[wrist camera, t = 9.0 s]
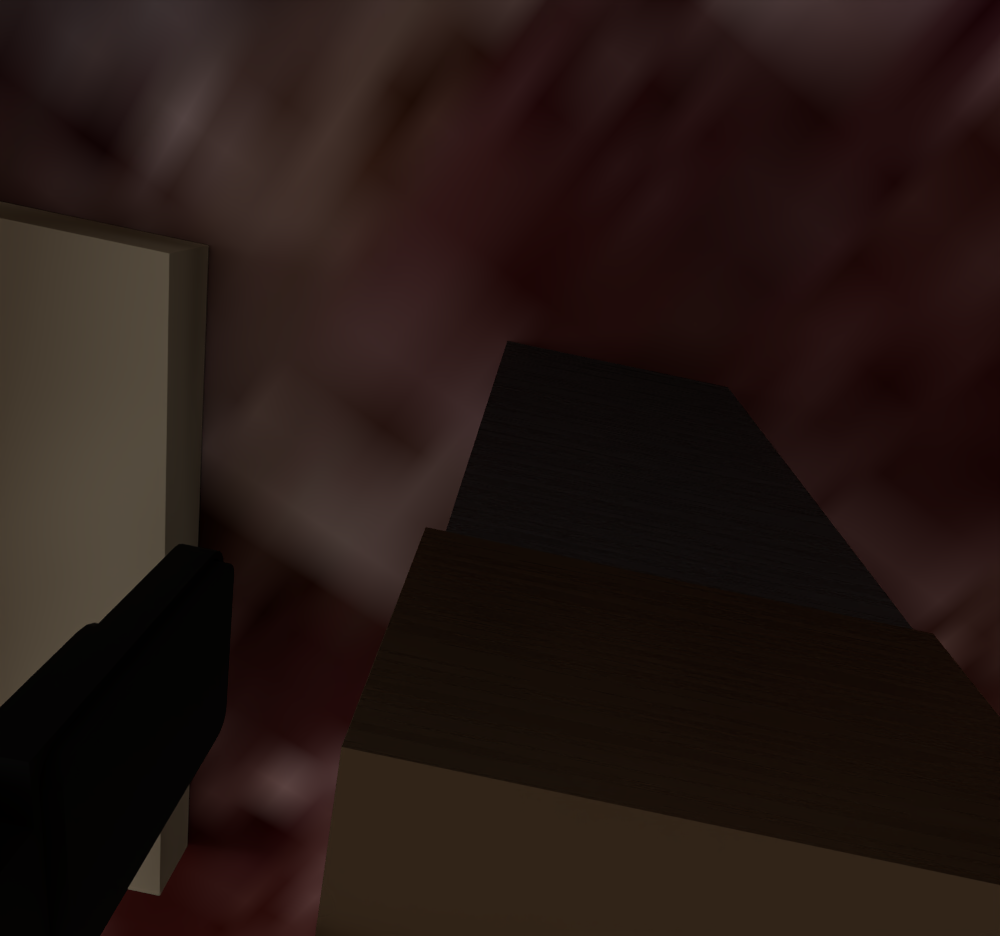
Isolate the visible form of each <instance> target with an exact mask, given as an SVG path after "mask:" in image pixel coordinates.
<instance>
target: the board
mask: <svg viewBox="0 0 1000 936" xmlns="http://www.w3.org/2000/svg"><path fill="white" fill-rule="evenodd" d="M208 249H209V245H205V244H200V243H195V242H190V241H186V240H181V239H176V238H171V237H167V236H162V235H157V234H152V233H148V232H143V231H138V230H133V229H129V228H124V227H119V226H114V225H110V224H105V223H100V222H95V221H91V220H86V219H81V218H76V217H72V216H67V215H62V214H57V213H53V212H48V211H43V210H38V209H34V208H29V207H24V206H19V205H15V204H10V203H5V202H0V707H1V706H2V705H3V704H4V703H5V702H6V701H7V700H8V699H9V698H10V697H11V696H12V695H13V694H14V693H15V692H16V691H17V690H18V689H19V688H20V687H21V686H22V685H23V684H24V683H25V682H26V681H27V680H28V679H29V678H30V677H31V676H32V675H33V674H34V673H35V672H36V671H37V670H39V669H40V668H41V667H42V666H43V665H44V664H45V663H46V662H47V661H48V660H49V659H50V658H51V657H52V656H53V655H54V654H55V653H56V652H57V651H58V650H59V649H60V648H61V647H62V646H63V645H64V644H65V643H66V642H67V641H68V640H69V639H70V638H71V637H72V636H73V635H74V634H75V633H76V632H78V631H79V630H80V629H82V628H83V627H84V626H85V625H87V624H91V623H99V622H100V621H101V620H102V619H103V618H104V617H105V616H106V615H107V614H108V613H109V612H110V611H111V610H112V609H113V608H114V607H115V606H116V605H117V604H118V603H119V602H120V601H121V600H122V599H123V598H124V597H125V596H126V595H127V594H128V593H129V592H130V591H131V590H132V589H133V588H134V587H135V586H136V585H137V584H138V583H139V582H140V581H141V580H142V579H143V578H144V577H145V576H146V575H147V574H148V573H149V572H150V571H151V570H152V569H153V568H154V567H155V566H156V565H157V564H158V563H159V562H160V561H161V560H162V559H163V558H164V557H165V556H166V555H167V554H168V553H169V552H170V551H171V550H172V549H173V548H174V547H175V546H177V545H178V544H186V545H191V546H196V547H198V532H199V504H200V476H201V447H202V419H203V391H204V362H205V334H206V306H207V278H208ZM189 787H190V784H189V786H188V787H187V789H186V791H185V793H184V794H183V796H182V798H181V799H180V801H179V803H178V804H177V806H176V808H175V810H174V811H173V813H172V815H171V816H170V818H169V820H168V821H167V823H166V825H165V826H164V828H163V830H162V832H161V833H160V835H159V837H158V838H157V840H156V842H155V843H154V845H153V847H152V848H151V850H150V852H149V854H148V855H147V857H146V859H145V860H144V862H143V864H142V865H141V867H140V869H139V871H138V872H137V874H136V876H135V877H134V879H133V881H132V882H131V884H130V886H129V887H128V889H130V890H135V891H140V892H144V893H149V894H154V895H159V896H160V894H161V892H162V891H163V889H164V887H165V885H166V883H167V882H168V880H169V878H170V876H171V874H172V873H173V871H174V869H175V867H176V865H177V864H178V862H179V860H180V858H181V856H182V855H183V853H184V851H185V849H186V847H187V843H188V815H189Z"/></svg>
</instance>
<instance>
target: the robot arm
mask: <svg viewBox="0 0 1000 936" xmlns="http://www.w3.org/2000/svg"><path fill="white" fill-rule="evenodd" d="M233 583H234V568H233V565H232V564H229V563H224V562H223V556H222V553H221V552H220V551H216V550H211V549H206V548H201V547H196V546H191V545H186V544H178V545H177V546H175V547H174V548H173V549H172V550H171V551H170V552H169V553H168V554H167V555H166V556H165V557H164V558H163V559H162V560H161V561H160V562H159V563H158V564H157V565H156V566H155V567H154V568H153V569H152V570H151V571H150V572H149V573H148V574H147V575H146V576H145V577H144V578H143V579H142V580H141V581H140V582H139V583H138V584H137V585H136V586H135V587H134V588H133V589H132V590H131V591H130V592H129V593H128V594H127V595H126V596H125V597H124V598H123V599H122V600H121V601H120V602H119V603H118V604H117V605H116V606H115V607H114V608H113V609H112V610H111V611H110V612H109V613H108V614H107V615H106V616H105V617H104V618H103V619H102V620H101V621H100V622H99V623H91V624H87V625H85V626H84V627H83V628H82V629H80V630H79V631H78V632H76V633H75V634H74V635H73V636H72V637H71V638H70V639H69V640H68V641H67V642H66V643H65V644H64V645H63V646H62V647H61V648H60V649H59V650H58V651H57V652H56V653H55V654H54V655H53V656H52V657H51V658H50V659H49V660H48V661H47V662H46V663H45V664H44V665H43V666H42V667H41V668H40V669H39V670H37V671H36V672H35V673H34V674H33V675H32V676H31V677H30V678H29V679H28V680H27V681H26V682H25V683H24V684H23V685H22V686H21V687H20V688H19V689H18V690H17V691H16V692H15V693H14V694H13V695H12V696H11V697H10V698H9V699H8V700H7V701H6V702H5V703H4V704H3V705H2V706H1V707H0V936H100V935H101V933H102V932H103V930H104V928H105V926H106V925H107V923H108V921H109V920H110V918H111V916H112V915H113V913H114V911H115V909H116V908H117V906H118V904H119V903H120V901H121V899H122V898H123V896H124V894H125V893H126V891H127V889H128V887H129V886H130V884H131V882H132V881H133V879H134V877H135V876H136V874H137V872H138V871H139V869H140V867H141V865H142V864H143V862H144V860H145V859H146V857H147V855H148V854H149V852H150V850H151V848H152V847H153V845H154V843H155V842H156V840H157V838H158V837H159V835H160V833H161V832H162V830H163V828H164V826H165V825H166V823H167V821H168V820H169V818H170V816H171V815H172V813H173V811H174V810H175V808H176V806H177V804H178V803H179V801H180V799H181V798H182V796H183V794H184V793H185V791H186V789H187V787H188V786H189V784H190V782H191V781H192V779H193V777H194V776H195V774H196V772H197V771H198V769H199V767H200V765H201V764H202V762H203V760H204V759H205V757H206V755H207V754H208V752H209V750H210V749H211V747H212V745H213V743H214V742H215V740H216V738H217V736H218V735H219V733H220V730H221V728H222V725H223V722H224V718H225V714H226V704H227V686H228V669H229V652H230V635H231V617H232V600H233Z"/></svg>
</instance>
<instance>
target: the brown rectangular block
mask: <svg viewBox="0 0 1000 936" xmlns="http://www.w3.org/2000/svg"><path fill="white" fill-rule="evenodd" d="M315 936H1000V717H999V715H998V714H997V713H996V712H995V710H994V709H993V708H992V707H991V705H990V704H989V703H988V702H987V700H986V699H985V698H984V697H983V695H982V694H981V693H980V692H979V690H978V689H977V688H976V687H975V685H974V684H973V683H972V682H971V680H970V679H969V678H968V677H967V675H966V674H965V673H964V672H963V670H962V669H961V668H960V667H959V665H958V664H957V663H956V662H955V660H954V659H953V658H952V657H951V655H950V654H949V653H948V652H947V650H946V649H945V648H944V647H943V645H942V644H941V643H940V642H939V640H938V639H937V638H936V637H935V635H934V634H932V633H927V632H922V631H918V630H913V629H912V627H911V626H910V625H909V624H908V622H907V621H906V620H905V618H904V617H903V616H902V614H901V613H900V612H899V610H898V609H897V608H896V607H895V605H894V604H893V603H892V601H891V600H890V599H889V597H888V596H887V595H886V593H885V592H884V591H883V590H882V588H881V587H880V586H879V584H878V583H877V582H876V580H875V579H874V578H873V577H872V575H871V574H870V573H869V571H868V570H867V569H866V567H865V566H864V565H863V563H862V562H861V561H860V560H859V558H858V557H857V556H856V554H855V553H854V552H853V550H852V549H851V548H850V546H849V545H848V544H847V543H846V541H845V540H844V539H843V537H842V536H841V535H840V533H839V532H838V531H837V529H836V528H835V527H834V526H833V524H832V523H831V522H830V520H829V519H828V518H827V516H826V515H825V514H824V512H823V511H822V510H821V509H820V507H819V506H818V505H817V503H816V502H815V501H814V499H813V498H812V497H811V495H810V494H809V493H808V492H807V490H806V489H805V488H804V486H803V485H802V484H801V482H800V481H799V480H798V478H797V477H796V476H795V475H794V473H793V472H792V471H791V469H790V468H789V467H788V465H787V464H786V463H785V461H784V460H783V459H782V458H781V456H780V455H779V454H778V452H777V451H776V450H775V448H774V447H773V446H772V444H771V443H770V442H769V441H768V439H767V438H766V437H765V435H764V434H763V433H762V431H761V430H760V429H759V427H758V426H757V425H756V424H755V422H754V421H753V420H752V418H751V417H750V416H749V414H748V413H747V412H746V410H745V409H744V408H743V407H742V405H741V404H740V403H739V401H738V400H737V399H736V397H735V396H734V395H733V393H732V392H731V391H730V390H729V388H728V387H725V386H720V385H716V384H711V383H706V382H701V381H696V380H692V379H687V378H682V377H677V376H673V375H668V374H663V373H658V372H653V371H649V370H644V369H639V368H634V367H630V366H625V365H620V364H615V363H611V362H606V361H601V360H596V359H591V358H587V357H582V356H577V355H572V354H568V353H563V352H558V351H553V350H549V349H544V348H539V347H534V346H529V345H525V344H520V343H515V342H510V341H507V344H506V347H505V350H504V353H503V356H502V359H501V362H500V365H499V369H498V372H497V375H496V378H495V381H494V384H493V387H492V390H491V393H490V396H489V400H488V403H487V406H486V409H485V412H484V415H483V418H482V421H481V424H480V427H479V430H478V434H477V437H476V440H475V443H474V446H473V449H472V452H471V455H470V458H469V461H468V464H467V468H466V471H465V474H464V477H463V480H462V483H461V486H460V489H459V492H458V495H457V498H456V502H455V505H454V508H453V511H452V514H451V517H450V520H449V523H448V526H447V529H446V531H441V530H436V529H431V528H427V527H426V528H425V531H424V533H423V536H422V539H421V541H420V544H419V546H418V549H417V552H416V554H415V557H414V559H413V562H412V565H411V567H410V570H409V572H408V575H407V578H406V580H405V583H404V585H403V588H402V591H401V593H400V596H399V599H398V601H397V604H396V606H395V609H394V612H393V614H392V617H391V619H390V622H389V625H388V627H387V630H386V632H385V635H384V638H383V640H382V643H381V645H380V648H379V651H378V653H377V656H376V659H375V661H374V664H373V666H372V669H371V672H370V674H369V677H368V679H367V682H366V685H365V687H364V690H363V692H362V695H361V698H360V700H359V703H358V705H357V708H356V711H355V713H354V716H353V719H352V721H351V724H350V726H349V729H348V732H347V734H346V737H345V739H344V742H343V745H342V748H341V755H340V762H339V769H338V776H337V784H336V791H335V798H334V805H333V812H332V819H331V827H330V834H329V841H328V848H327V855H326V863H325V870H324V877H323V884H322V891H321V898H320V906H319V913H318V920H317V927H316V934H315Z"/></svg>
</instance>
